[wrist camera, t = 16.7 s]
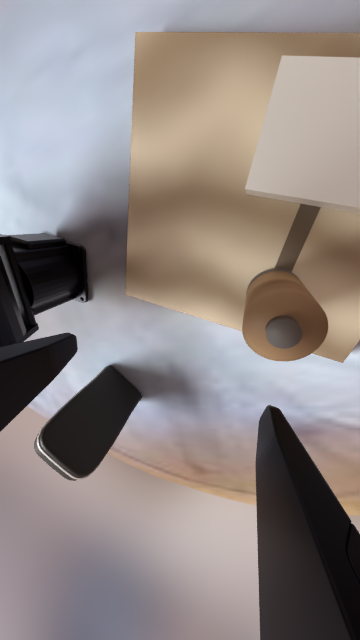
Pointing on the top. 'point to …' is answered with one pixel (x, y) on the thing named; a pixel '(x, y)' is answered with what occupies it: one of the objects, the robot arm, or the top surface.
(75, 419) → the battery charger
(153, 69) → the plank
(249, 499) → the top surface
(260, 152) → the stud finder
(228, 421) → the top surface
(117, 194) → the top surface
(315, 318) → the brown knobbed cylinder
